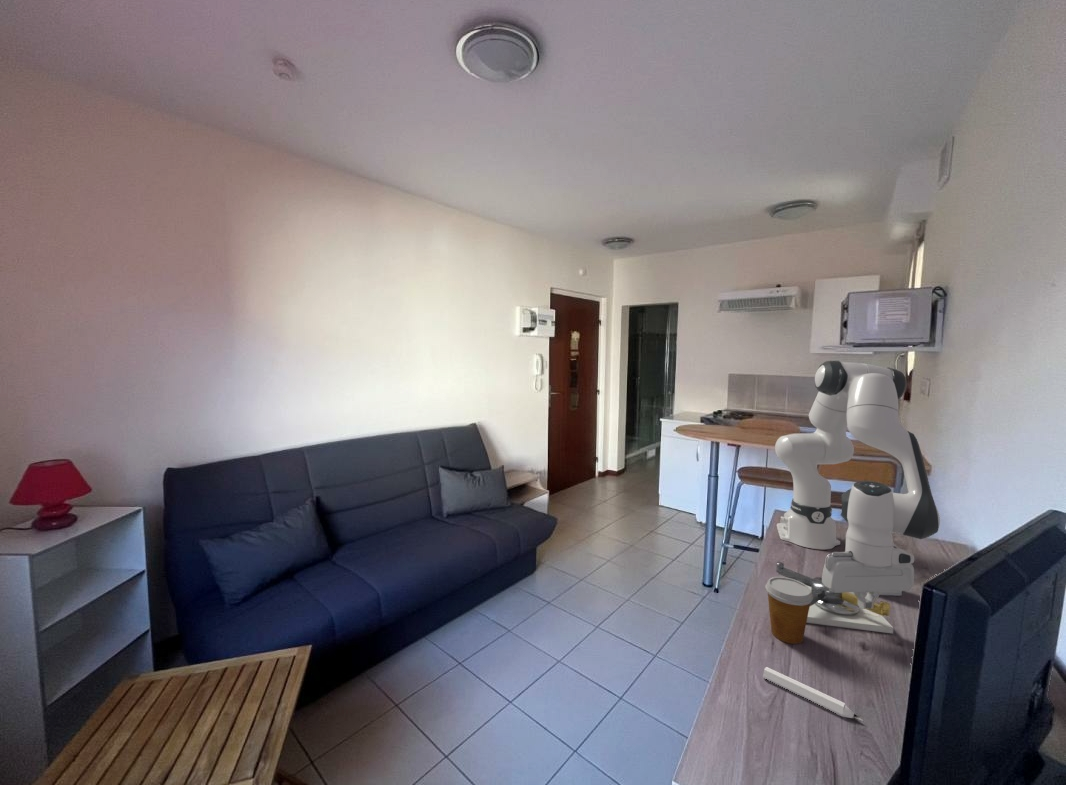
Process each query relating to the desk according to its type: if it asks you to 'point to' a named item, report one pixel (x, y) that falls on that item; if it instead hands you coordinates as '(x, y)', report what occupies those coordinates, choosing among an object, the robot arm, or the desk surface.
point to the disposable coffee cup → (788, 608)
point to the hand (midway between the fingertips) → (865, 607)
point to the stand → (849, 619)
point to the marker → (809, 693)
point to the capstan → (831, 595)
